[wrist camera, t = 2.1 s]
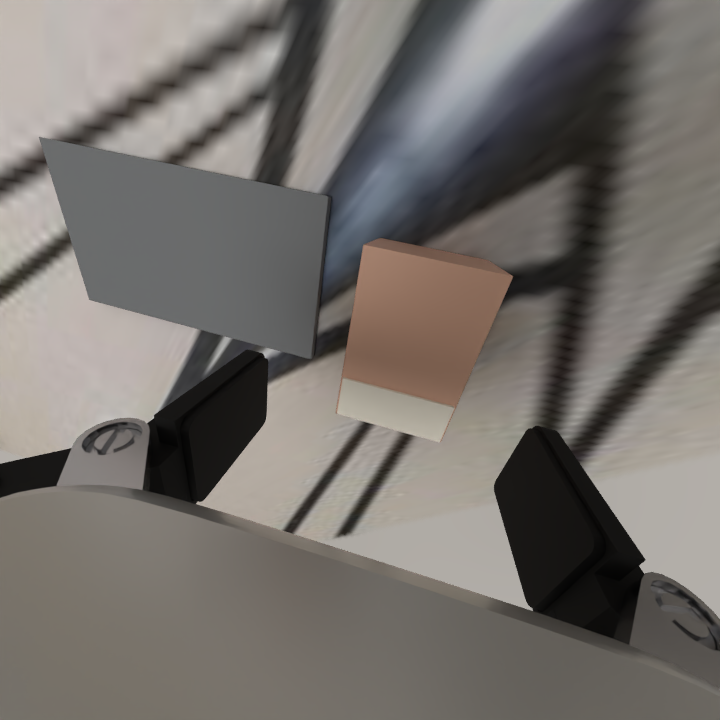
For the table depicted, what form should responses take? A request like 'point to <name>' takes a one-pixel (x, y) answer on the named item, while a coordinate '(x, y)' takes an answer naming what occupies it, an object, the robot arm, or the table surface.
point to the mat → (195, 245)
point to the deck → (416, 335)
